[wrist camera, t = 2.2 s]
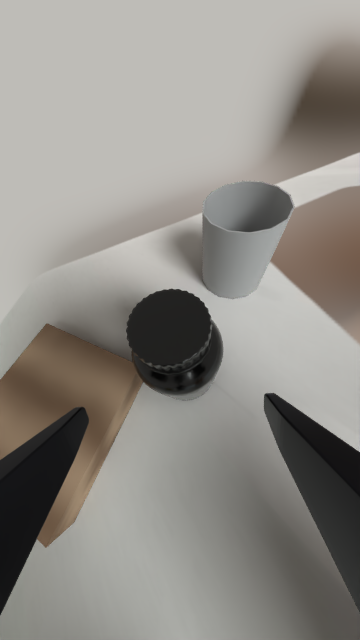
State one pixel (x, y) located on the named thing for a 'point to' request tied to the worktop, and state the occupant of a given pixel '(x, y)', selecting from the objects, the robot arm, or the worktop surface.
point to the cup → (241, 235)
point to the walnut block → (66, 409)
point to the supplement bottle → (174, 344)
